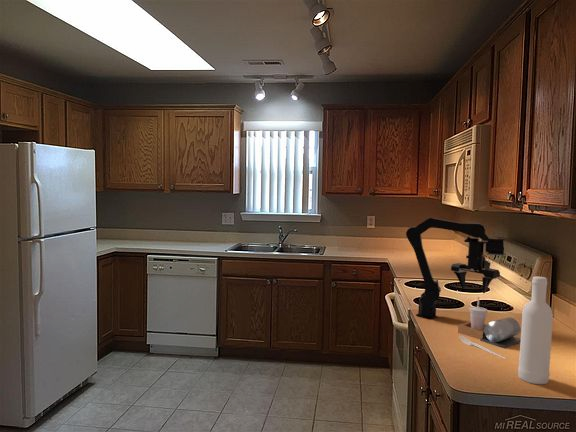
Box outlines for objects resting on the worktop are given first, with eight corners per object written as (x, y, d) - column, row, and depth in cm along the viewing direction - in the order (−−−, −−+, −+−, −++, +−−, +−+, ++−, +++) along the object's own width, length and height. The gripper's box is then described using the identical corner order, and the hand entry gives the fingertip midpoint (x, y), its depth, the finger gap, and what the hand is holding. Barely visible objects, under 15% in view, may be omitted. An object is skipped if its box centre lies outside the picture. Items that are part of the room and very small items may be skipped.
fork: (503, 362, 147) (503, 356, 147) (457, 340, 165) (457, 335, 165) (510, 361, 149) (510, 355, 148) (464, 339, 167) (464, 334, 167)
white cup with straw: (482, 331, 176) (485, 296, 175) (488, 337, 170) (490, 300, 169) (465, 330, 177) (467, 295, 176) (470, 335, 170) (473, 299, 170)
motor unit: (455, 333, 173) (456, 313, 173) (474, 327, 181) (475, 308, 181) (504, 348, 158) (506, 326, 158) (522, 341, 166) (524, 320, 166)
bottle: (544, 375, 135) (551, 276, 134) (552, 386, 128) (559, 281, 126) (515, 371, 138) (521, 273, 136) (521, 382, 130) (528, 278, 128)
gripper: (507, 255, 185) (505, 293, 186) (465, 249, 199) (463, 284, 200) (493, 257, 178) (491, 296, 179) (451, 251, 193) (449, 287, 194)
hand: (473, 290), depth 188 cm, fingers open, 9 cm apart
